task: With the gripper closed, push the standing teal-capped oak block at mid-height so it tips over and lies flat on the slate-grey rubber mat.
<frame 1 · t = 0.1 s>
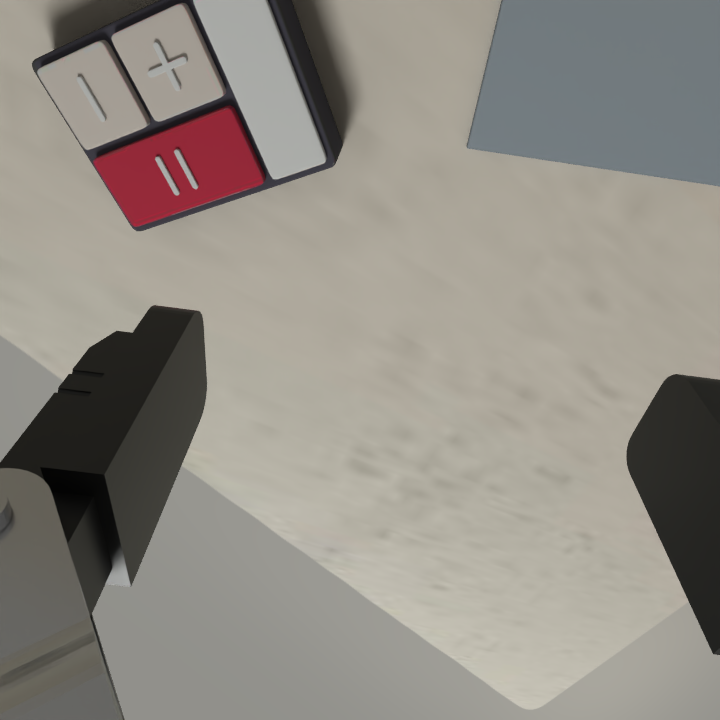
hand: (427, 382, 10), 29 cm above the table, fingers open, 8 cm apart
calculator: (205, 102, 35), on the table
mat: (650, 44, 31), on the table
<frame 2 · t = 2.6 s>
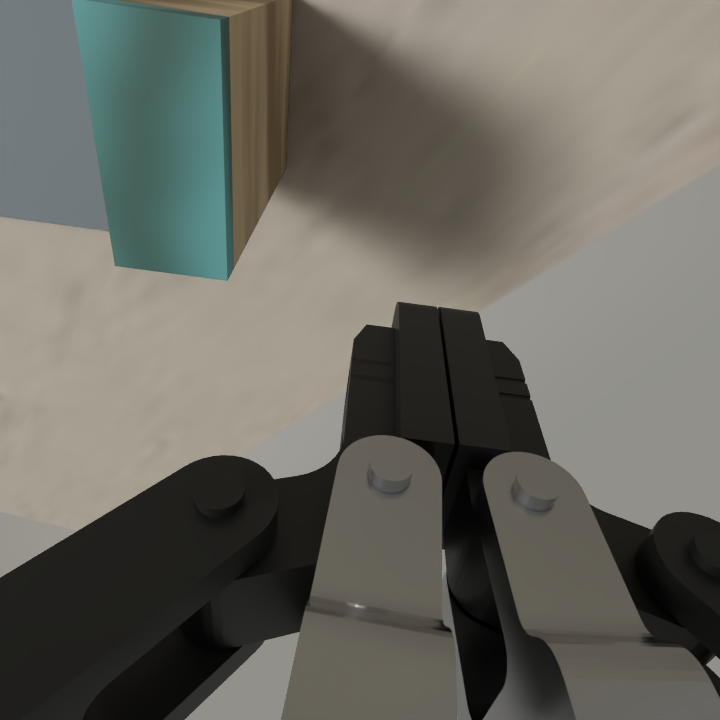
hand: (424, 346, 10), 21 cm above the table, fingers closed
block: (249, 83, 27), on the table
mat: (49, 54, 27), on the table
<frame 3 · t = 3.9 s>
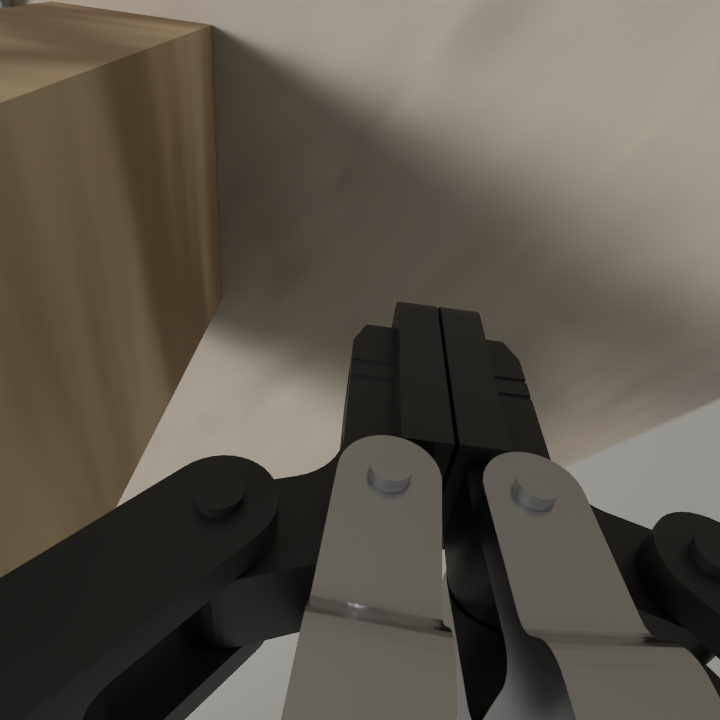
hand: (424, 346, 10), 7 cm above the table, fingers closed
block: (149, 173, 16), on the table
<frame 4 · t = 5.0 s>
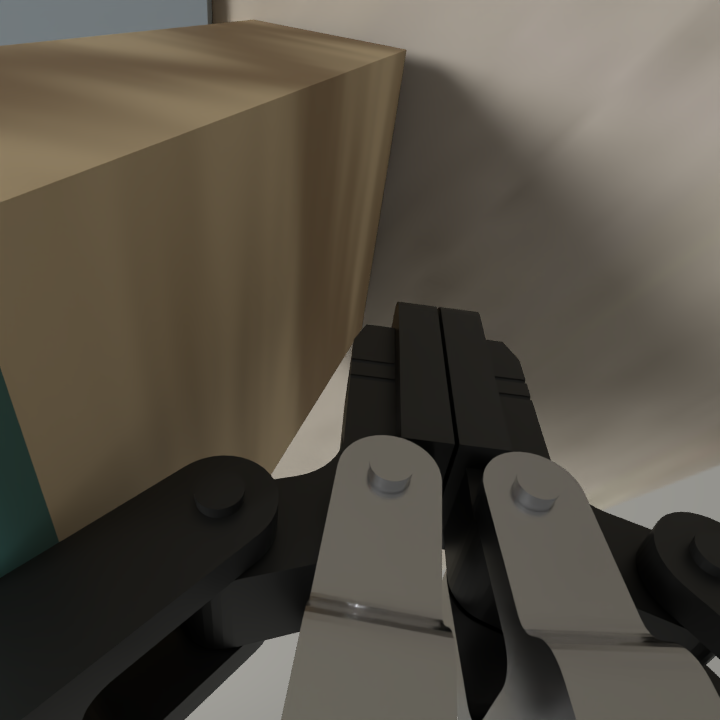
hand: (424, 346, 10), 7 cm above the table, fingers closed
block: (314, 194, 16), on the table, tilted 15°
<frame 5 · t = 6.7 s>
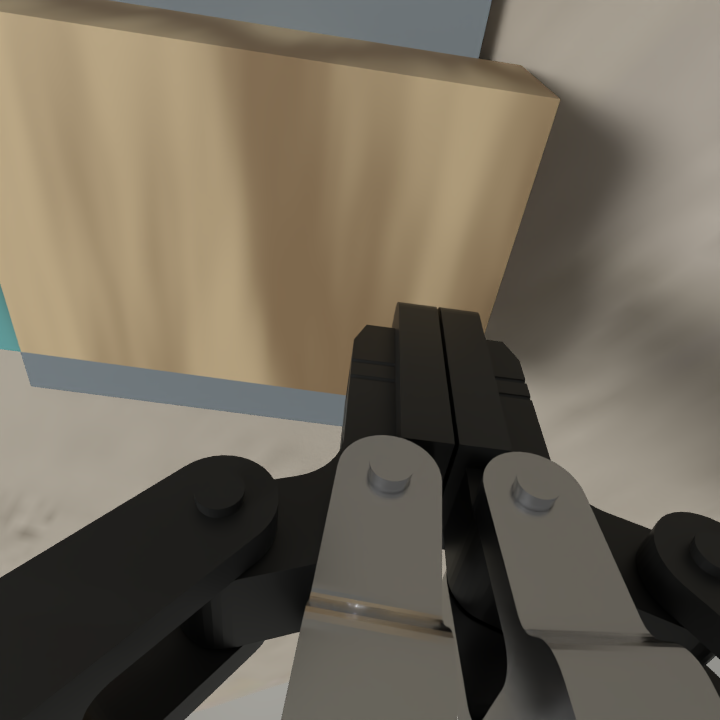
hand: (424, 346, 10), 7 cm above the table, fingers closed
block: (488, 247, 14), point 2 cm above the table, tilted 90°, touching mat
mat: (207, 174, 16), on the table
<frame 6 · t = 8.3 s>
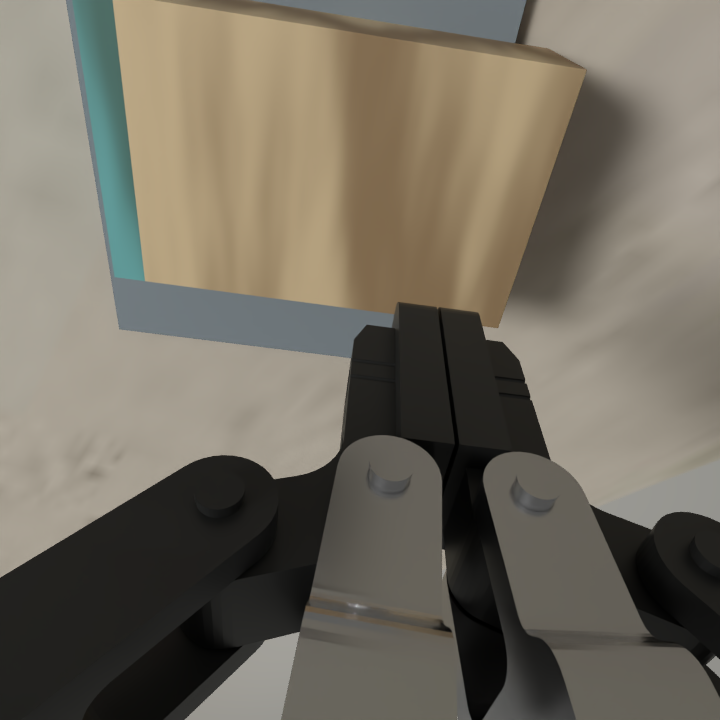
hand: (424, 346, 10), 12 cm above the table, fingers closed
block: (522, 194, 18), point 2 cm above the table, tilted 90°, touching mat
mat: (288, 139, 19), on the table
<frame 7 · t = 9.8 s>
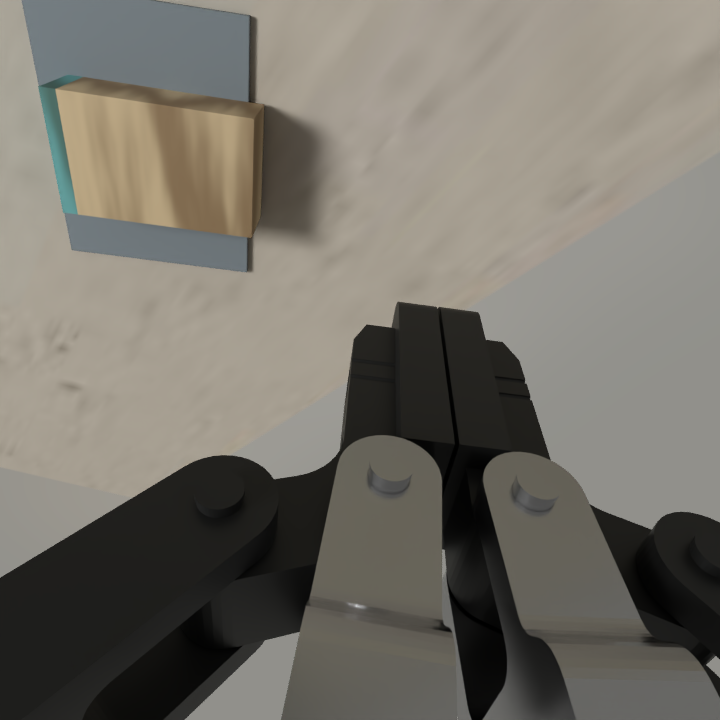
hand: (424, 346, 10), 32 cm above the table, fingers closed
block: (257, 172, 38), point 2 cm above the table, tilted 90°, touching mat
mat: (151, 146, 39), on the table
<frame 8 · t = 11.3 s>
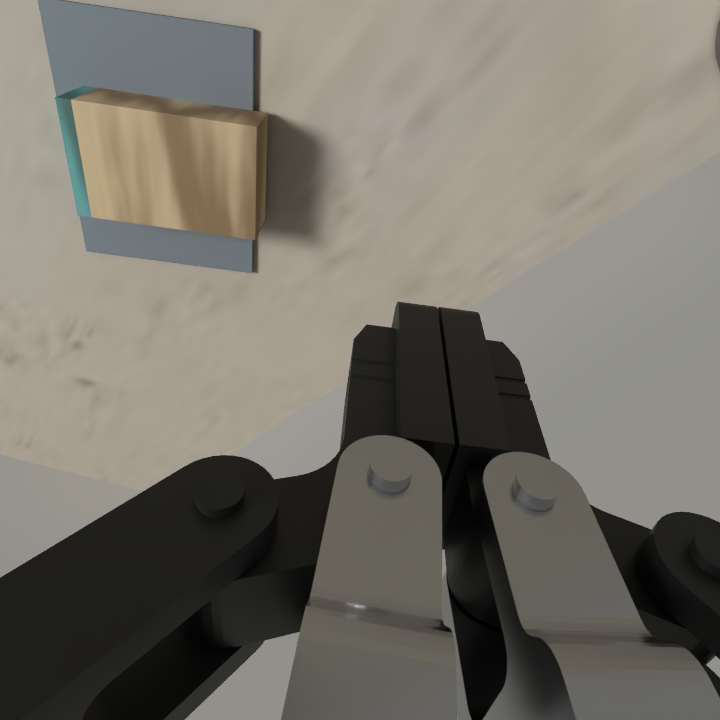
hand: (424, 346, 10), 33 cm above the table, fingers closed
block: (261, 177, 39), point 2 cm above the table, tilted 90°, touching mat
mat: (161, 152, 41), on the table
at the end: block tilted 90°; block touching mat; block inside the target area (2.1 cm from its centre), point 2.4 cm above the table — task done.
